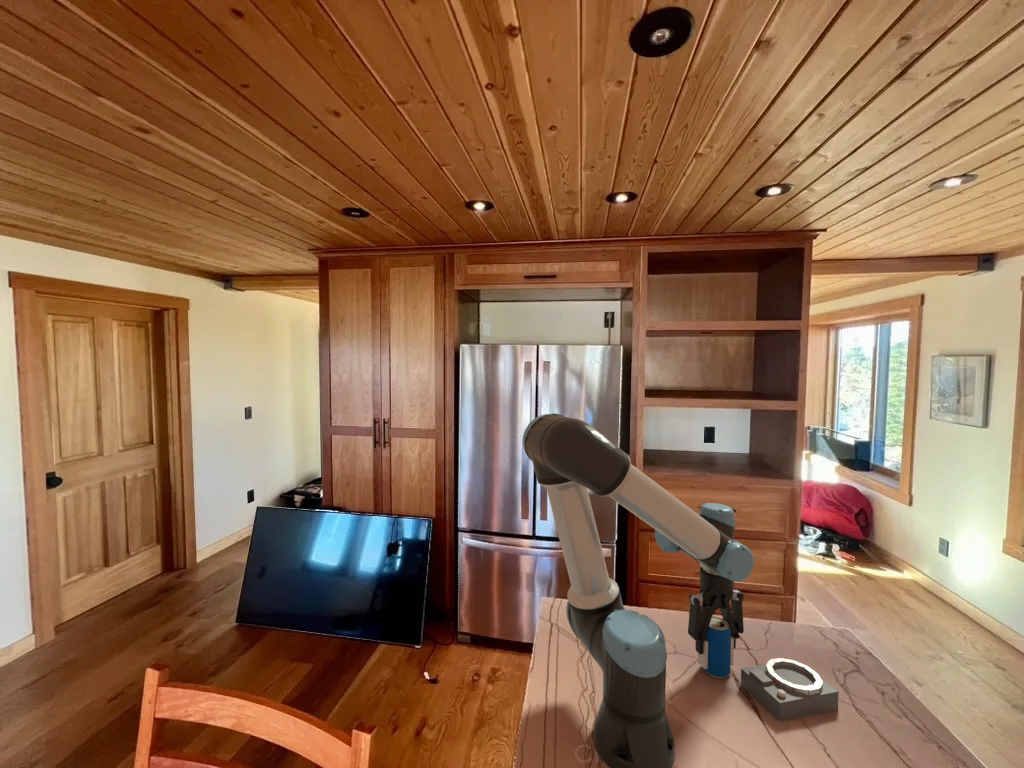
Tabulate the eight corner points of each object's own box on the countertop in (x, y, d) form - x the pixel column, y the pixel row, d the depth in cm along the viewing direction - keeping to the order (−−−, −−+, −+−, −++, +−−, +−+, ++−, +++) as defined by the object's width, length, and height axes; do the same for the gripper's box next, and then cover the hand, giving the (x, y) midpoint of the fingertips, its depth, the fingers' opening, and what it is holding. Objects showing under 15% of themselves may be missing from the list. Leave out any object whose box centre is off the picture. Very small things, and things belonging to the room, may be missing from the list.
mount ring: (793, 698, 92) (794, 693, 92) (756, 666, 102) (756, 661, 102) (834, 691, 94) (834, 685, 94) (793, 660, 105) (793, 655, 105)
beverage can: (733, 682, 103) (734, 631, 103) (704, 678, 104) (704, 628, 104) (726, 664, 109) (726, 616, 109) (698, 661, 110) (698, 613, 110)
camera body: (779, 721, 91) (780, 699, 91) (740, 685, 102) (741, 664, 102) (838, 709, 94) (838, 687, 94) (794, 675, 105) (794, 656, 105)
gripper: (690, 580, 100) (689, 679, 101) (762, 572, 105) (761, 667, 105) (671, 566, 108) (670, 659, 108) (739, 559, 112) (738, 648, 112)
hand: (715, 663), depth 107 cm, fingers closed on beverage can, 6 cm apart
